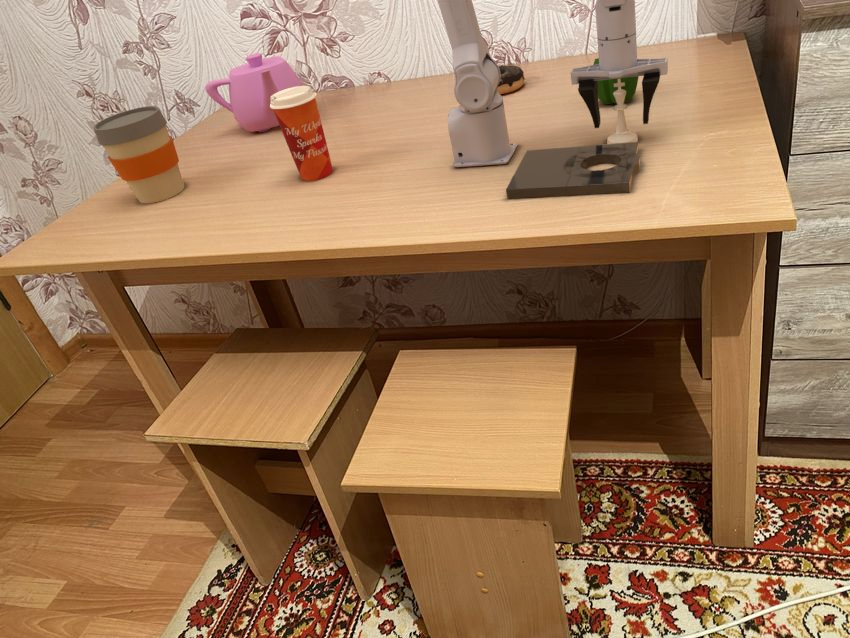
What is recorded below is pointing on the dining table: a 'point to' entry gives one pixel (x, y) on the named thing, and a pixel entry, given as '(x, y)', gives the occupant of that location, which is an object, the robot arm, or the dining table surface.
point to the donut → (510, 79)
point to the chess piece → (621, 119)
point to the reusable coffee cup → (142, 152)
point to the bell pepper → (615, 88)
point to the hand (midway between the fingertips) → (621, 123)
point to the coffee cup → (303, 131)
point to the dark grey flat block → (575, 171)
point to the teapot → (255, 90)
